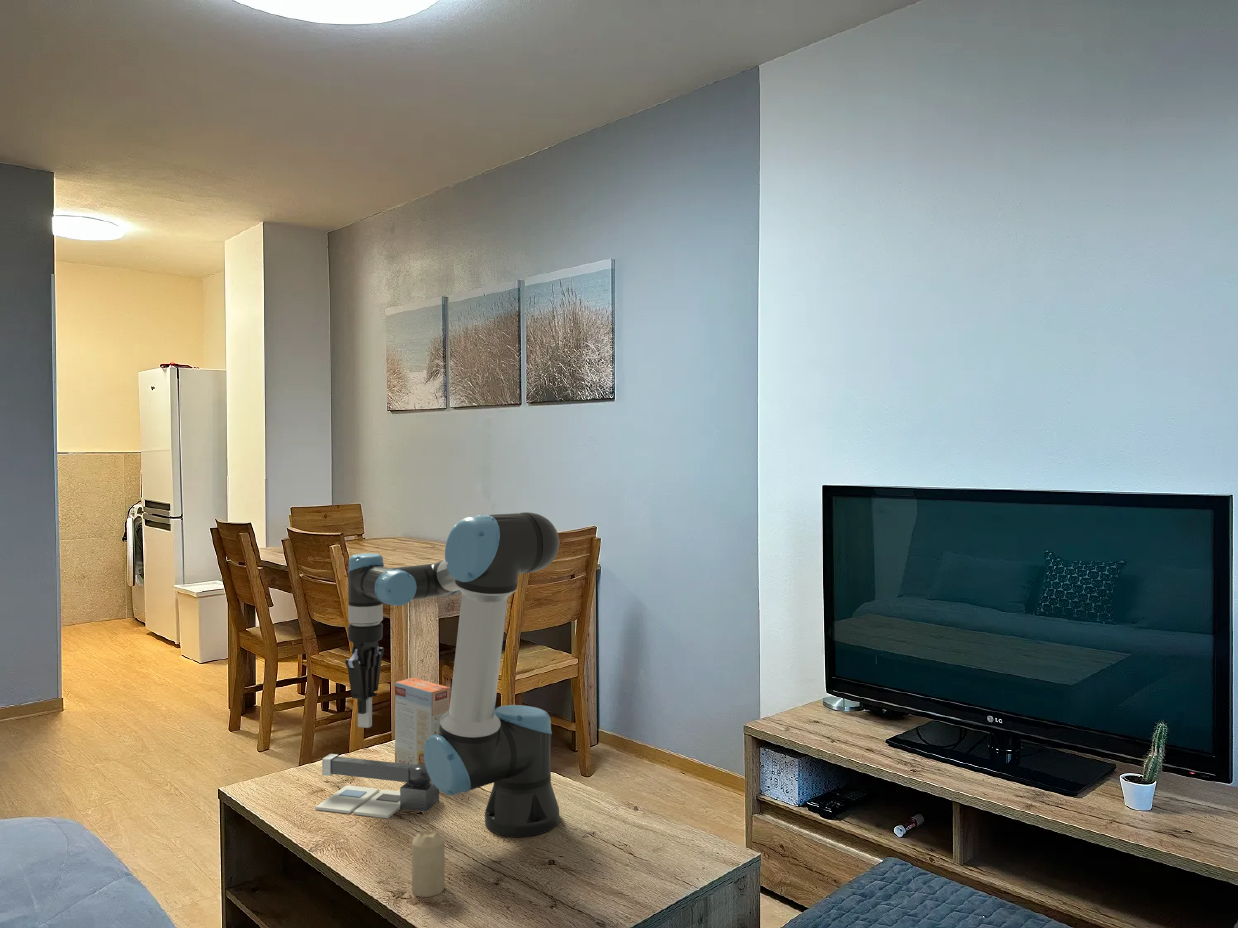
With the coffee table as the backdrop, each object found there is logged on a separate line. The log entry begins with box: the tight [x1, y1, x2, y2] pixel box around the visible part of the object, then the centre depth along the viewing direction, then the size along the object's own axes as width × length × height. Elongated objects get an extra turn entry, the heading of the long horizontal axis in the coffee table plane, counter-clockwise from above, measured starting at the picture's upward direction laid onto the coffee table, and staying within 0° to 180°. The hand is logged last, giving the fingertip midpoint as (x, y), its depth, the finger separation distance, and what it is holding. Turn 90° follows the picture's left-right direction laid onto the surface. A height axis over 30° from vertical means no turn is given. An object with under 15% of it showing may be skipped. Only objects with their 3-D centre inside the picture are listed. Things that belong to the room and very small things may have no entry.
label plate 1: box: [314, 784, 380, 814], centre depth 189 cm, size 8×12×1 cm, turn 166°
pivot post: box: [399, 779, 440, 813], centre depth 187 cm, size 6×6×4 cm
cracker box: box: [394, 677, 451, 779], centre depth 206 cm, size 14×6×21 cm, turn 50°
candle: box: [411, 830, 446, 898], centre depth 152 cm, size 6×6×10 cm
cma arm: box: [321, 753, 430, 785], centre depth 190 cm, size 25×4×4 cm, turn 76°
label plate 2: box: [353, 788, 401, 819], centre depth 187 cm, size 8×12×1 cm, turn 166°
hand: (364, 725), depth 198 cm, fingers closed
